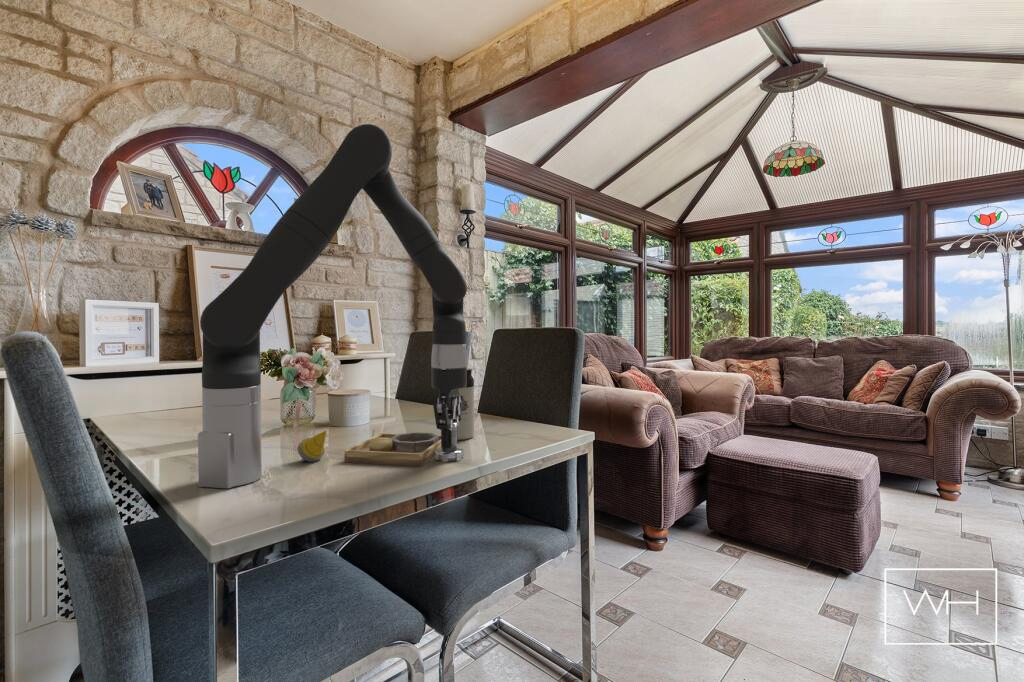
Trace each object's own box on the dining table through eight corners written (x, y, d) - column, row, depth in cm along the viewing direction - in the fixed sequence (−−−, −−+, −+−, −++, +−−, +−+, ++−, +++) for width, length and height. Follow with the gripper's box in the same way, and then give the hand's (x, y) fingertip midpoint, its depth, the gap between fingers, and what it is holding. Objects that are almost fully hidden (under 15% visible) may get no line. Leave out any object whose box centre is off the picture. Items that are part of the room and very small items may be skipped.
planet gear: (458, 462, 99) (458, 426, 99) (431, 461, 100) (431, 425, 100) (466, 455, 105) (466, 420, 105) (441, 453, 106) (440, 419, 106)
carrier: (422, 466, 97) (422, 448, 97) (344, 462, 100) (344, 444, 100) (448, 446, 113) (448, 431, 113) (381, 443, 116) (381, 428, 116)
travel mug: (445, 433, 127) (445, 366, 127) (475, 433, 127) (475, 366, 127) (440, 440, 119) (440, 368, 119) (471, 440, 119) (471, 368, 119)
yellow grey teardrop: (320, 457, 105) (342, 430, 101) (309, 474, 100) (331, 446, 96) (299, 444, 104) (320, 415, 100) (286, 460, 99) (308, 431, 95)
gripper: (443, 363, 110) (443, 437, 110) (420, 367, 96) (420, 453, 97) (474, 363, 109) (474, 439, 109) (456, 368, 95) (456, 455, 95)
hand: (449, 445), depth 103 cm, fingers closed on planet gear, 3 cm apart
